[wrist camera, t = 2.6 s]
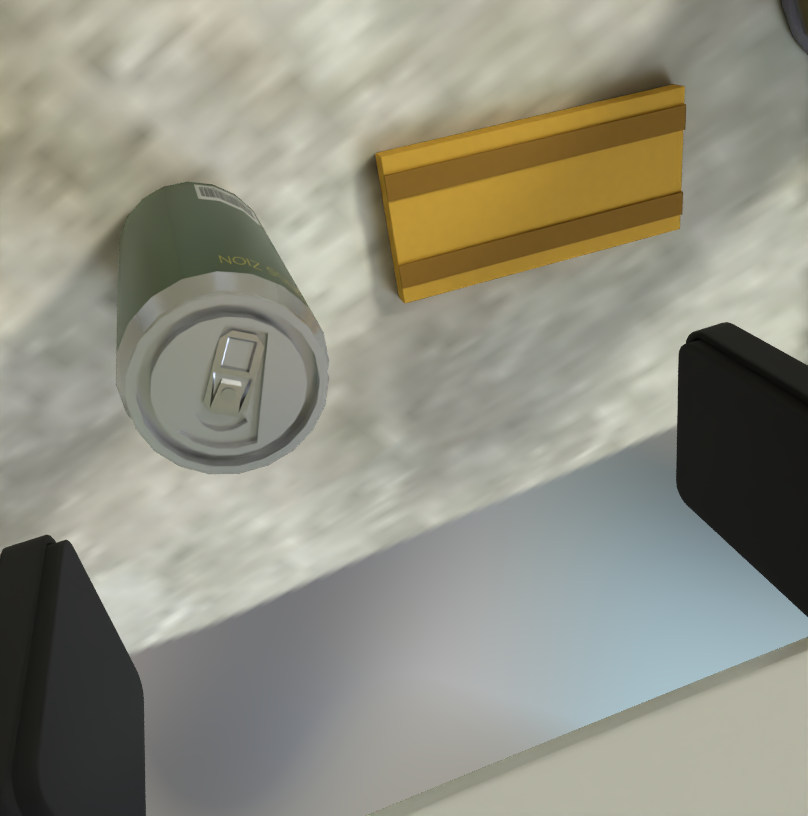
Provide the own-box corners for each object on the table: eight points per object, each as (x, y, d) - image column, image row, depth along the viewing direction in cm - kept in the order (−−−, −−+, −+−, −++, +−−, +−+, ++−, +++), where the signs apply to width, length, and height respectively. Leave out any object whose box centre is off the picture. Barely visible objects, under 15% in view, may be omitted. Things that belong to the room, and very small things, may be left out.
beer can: (133, 159, 27) (138, 260, 17) (281, 199, 29) (363, 310, 19) (106, 301, 29) (96, 468, 19) (247, 330, 31) (305, 493, 21)
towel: (398, 297, 33) (405, 304, 32) (374, 152, 29) (381, 157, 29) (669, 224, 35) (681, 229, 34) (673, 84, 32) (687, 86, 31)
